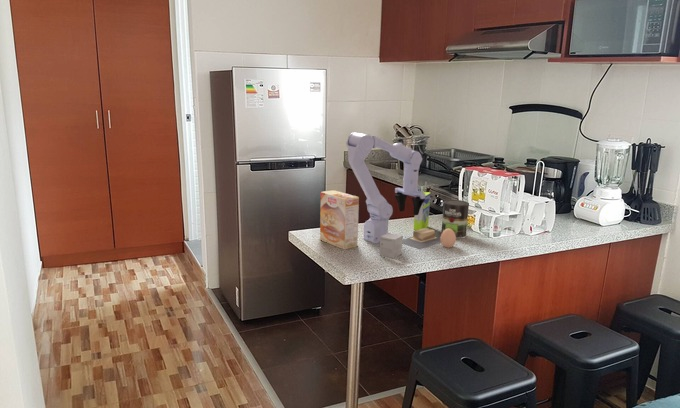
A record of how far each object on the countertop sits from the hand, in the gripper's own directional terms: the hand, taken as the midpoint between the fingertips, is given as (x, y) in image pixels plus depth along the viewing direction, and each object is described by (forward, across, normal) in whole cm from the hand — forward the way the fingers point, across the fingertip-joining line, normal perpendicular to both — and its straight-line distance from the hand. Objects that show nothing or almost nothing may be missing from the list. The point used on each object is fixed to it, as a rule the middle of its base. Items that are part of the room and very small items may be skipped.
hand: (408, 212), depth 211 cm
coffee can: (+10, -12, -15) cm, 21 cm away
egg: (+10, -20, 0) cm, 23 cm away
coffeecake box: (+10, +9, +30) cm, 33 cm away
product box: (+10, -13, +24) cm, 29 cm away
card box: (+9, -8, -1) cm, 12 cm away
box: (+10, +3, -12) cm, 16 cm away
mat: (+9, -10, +2) cm, 14 cm away
